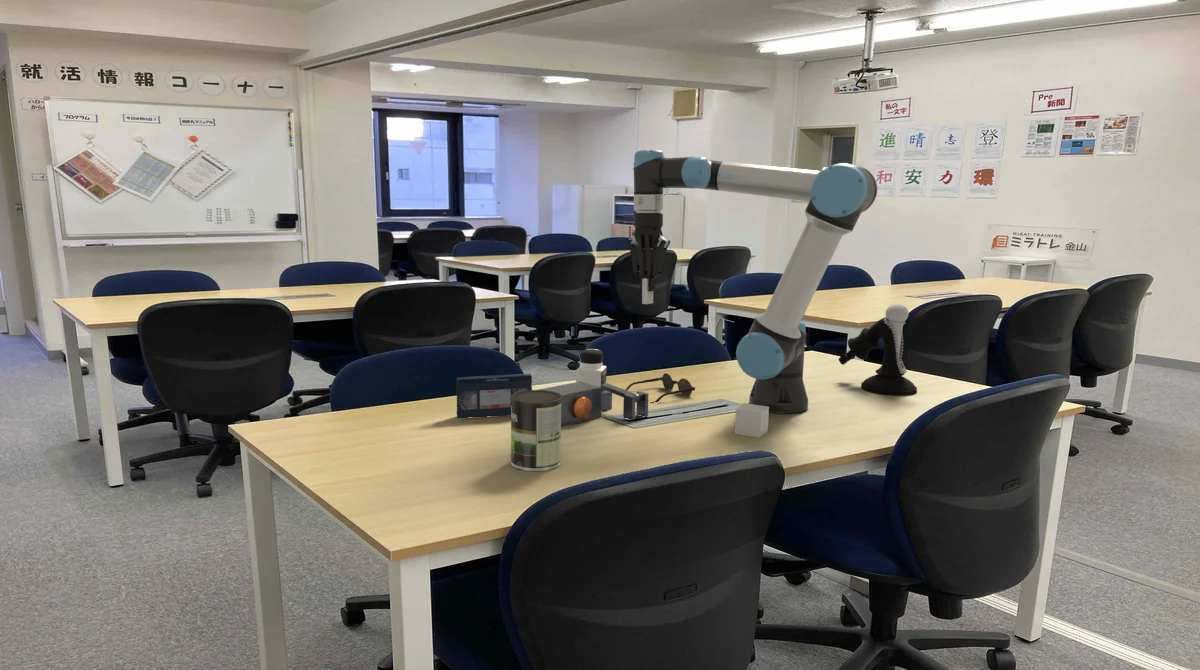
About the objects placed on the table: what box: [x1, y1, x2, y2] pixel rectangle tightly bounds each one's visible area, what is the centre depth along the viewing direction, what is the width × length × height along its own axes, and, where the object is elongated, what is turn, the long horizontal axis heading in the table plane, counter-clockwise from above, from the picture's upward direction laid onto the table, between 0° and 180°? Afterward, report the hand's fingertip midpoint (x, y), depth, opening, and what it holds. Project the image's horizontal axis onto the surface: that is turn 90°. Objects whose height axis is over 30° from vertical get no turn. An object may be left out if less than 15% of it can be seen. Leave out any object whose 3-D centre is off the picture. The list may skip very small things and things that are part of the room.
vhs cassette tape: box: [455, 373, 533, 419], centre depth 200 cm, size 18×3×10 cm, turn 105°
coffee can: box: [510, 389, 562, 472], centre depth 165 cm, size 10×10×14 cm
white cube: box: [734, 403, 770, 438], centre depth 190 cm, size 6×6×6 cm
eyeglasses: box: [625, 372, 696, 404], centre depth 224 cm, size 15×15×5 cm
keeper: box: [601, 382, 644, 403], centre depth 204 cm, size 12×3×2 cm, turn 43°
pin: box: [572, 396, 592, 419], centre depth 199 cm, size 13×5×5 cm, turn 43°
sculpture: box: [838, 303, 918, 397], centre depth 236 cm, size 15×24×25 cm, turn 45°
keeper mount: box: [601, 391, 649, 420], centre depth 204 cm, size 14×6×6 cm, turn 43°
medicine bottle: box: [575, 348, 607, 391], centre depth 224 cm, size 7×7×12 cm
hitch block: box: [537, 381, 602, 427], centre depth 198 cm, size 8×14×8 cm, turn 133°
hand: (647, 303), depth 213 cm, fingers closed
